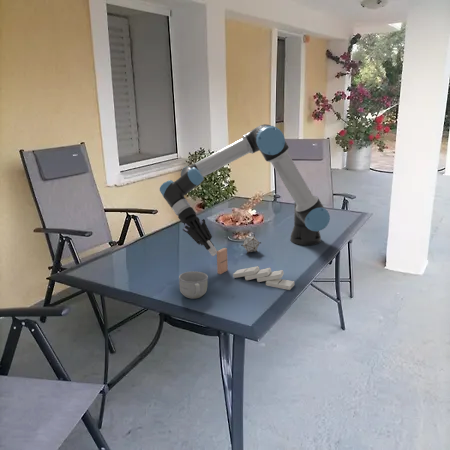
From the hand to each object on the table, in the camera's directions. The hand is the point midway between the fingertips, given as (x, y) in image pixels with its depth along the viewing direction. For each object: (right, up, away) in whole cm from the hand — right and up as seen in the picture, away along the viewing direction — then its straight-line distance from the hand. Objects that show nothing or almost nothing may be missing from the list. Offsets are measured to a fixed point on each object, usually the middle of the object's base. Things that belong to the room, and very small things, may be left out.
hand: (215, 254), depth 188 cm
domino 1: (+3, -8, -1) cm, 8 cm away
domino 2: (+9, -8, -5) cm, 13 cm away
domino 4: (+18, -9, -10) cm, 22 cm away
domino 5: (+22, -10, -13) cm, 27 cm away
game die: (+17, -1, +21) cm, 27 cm away
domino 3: (+13, -9, -8) cm, 18 cm away
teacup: (-7, -15, -23) cm, 28 cm away
